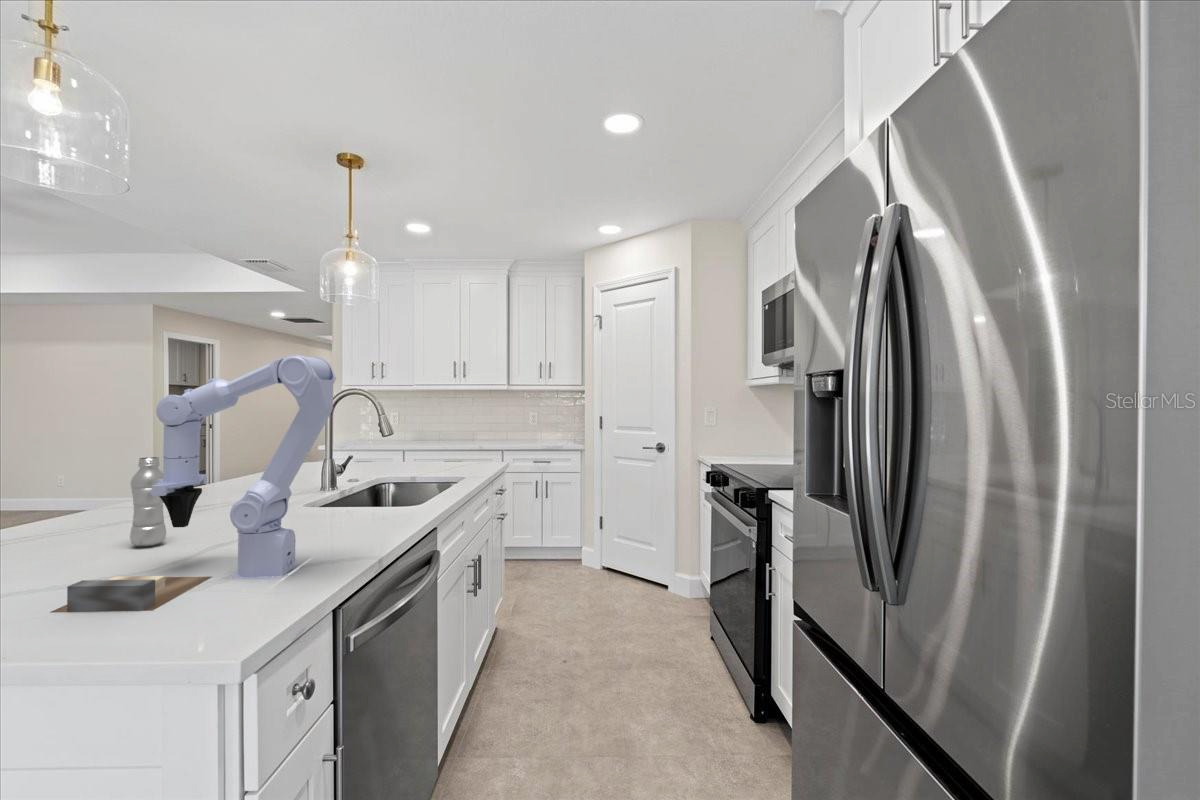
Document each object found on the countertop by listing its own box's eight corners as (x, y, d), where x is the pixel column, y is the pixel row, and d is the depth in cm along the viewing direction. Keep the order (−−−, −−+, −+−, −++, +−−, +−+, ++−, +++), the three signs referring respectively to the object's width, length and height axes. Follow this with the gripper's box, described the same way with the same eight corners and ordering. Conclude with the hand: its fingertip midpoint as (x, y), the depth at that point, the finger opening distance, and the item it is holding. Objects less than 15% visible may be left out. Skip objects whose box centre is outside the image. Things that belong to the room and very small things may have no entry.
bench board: (212, 579, 109) (212, 555, 109) (152, 614, 92) (152, 585, 92) (126, 580, 107) (127, 556, 107) (49, 616, 90) (50, 586, 90)
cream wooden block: (164, 593, 99) (165, 576, 99) (145, 603, 94) (145, 585, 94) (114, 594, 99) (115, 576, 99) (92, 604, 94) (92, 586, 94)
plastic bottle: (173, 542, 134) (174, 456, 134) (151, 549, 127) (152, 459, 127) (144, 541, 134) (146, 456, 134) (121, 549, 127) (122, 459, 127)
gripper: (181, 452, 119) (180, 518, 119) (134, 461, 104) (132, 535, 104) (218, 453, 120) (217, 518, 120) (176, 461, 105) (175, 535, 105)
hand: (180, 526), depth 112 cm, fingers closed
